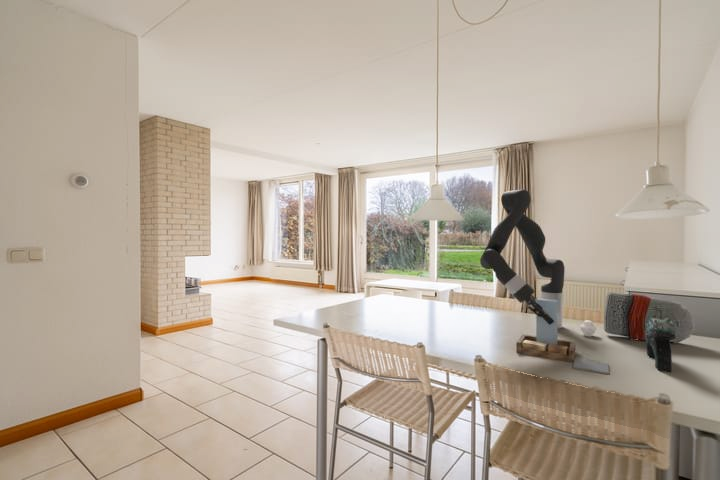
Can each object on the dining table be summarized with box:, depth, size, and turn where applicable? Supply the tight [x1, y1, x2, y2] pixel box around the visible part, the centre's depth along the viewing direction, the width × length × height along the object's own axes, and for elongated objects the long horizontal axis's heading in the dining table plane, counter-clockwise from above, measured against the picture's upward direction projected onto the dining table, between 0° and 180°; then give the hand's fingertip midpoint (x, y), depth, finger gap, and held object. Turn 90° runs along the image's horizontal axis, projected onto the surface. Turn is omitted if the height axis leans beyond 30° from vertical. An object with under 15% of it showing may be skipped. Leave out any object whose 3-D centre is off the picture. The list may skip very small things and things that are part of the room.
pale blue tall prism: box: [535, 297, 558, 345], centre depth 140 cm, size 7×4×17 cm, turn 56°
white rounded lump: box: [579, 320, 597, 337], centre depth 159 cm, size 6×6×7 cm
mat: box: [572, 357, 610, 375], centre depth 122 cm, size 10×10×1 cm
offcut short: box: [548, 344, 568, 355], centre depth 132 cm, size 6×4×4 cm, turn 53°
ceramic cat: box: [645, 308, 675, 373], centre depth 125 cm, size 20×6×20 cm, turn 151°
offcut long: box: [522, 340, 547, 351], centre depth 137 cm, size 8×4×4 cm, turn 49°
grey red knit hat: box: [603, 291, 696, 344], centre depth 152 cm, size 19×6×30 cm
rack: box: [515, 333, 577, 363], centre depth 137 cm, size 19×13×4 cm
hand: (552, 321), depth 138 cm, fingers closed on pale blue tall prism, 3 cm apart
